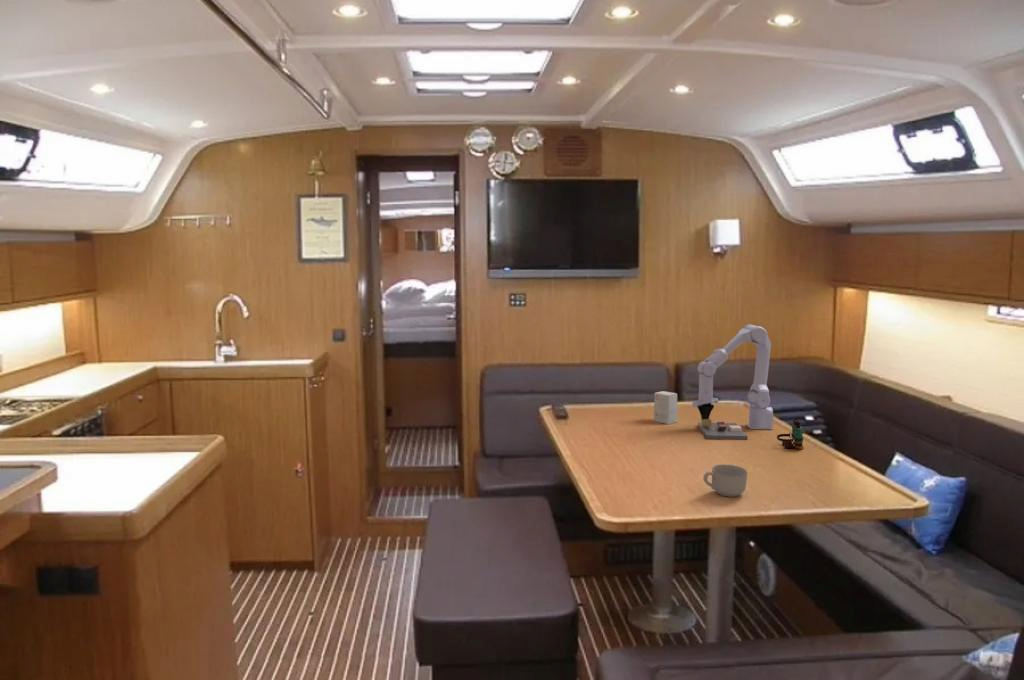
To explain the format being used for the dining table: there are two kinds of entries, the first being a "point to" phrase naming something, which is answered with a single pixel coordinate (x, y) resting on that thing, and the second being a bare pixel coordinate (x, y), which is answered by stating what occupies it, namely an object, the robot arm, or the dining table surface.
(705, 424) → the block
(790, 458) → the dining table surface
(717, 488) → the teacup
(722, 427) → the rocker switch
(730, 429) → the push button
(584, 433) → the dining table surface
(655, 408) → the small box
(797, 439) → the figurine with basket
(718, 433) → the switch panel
